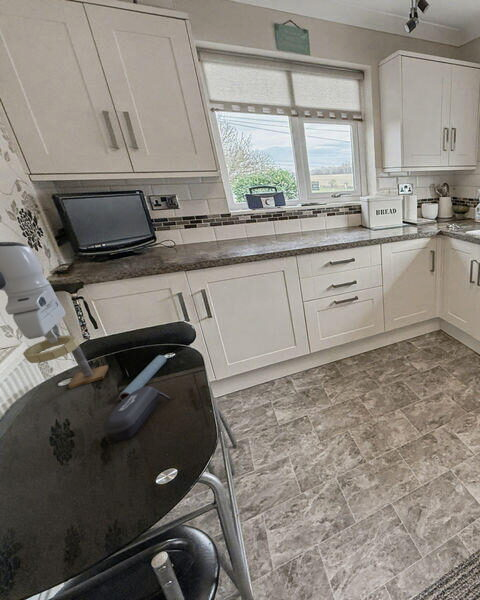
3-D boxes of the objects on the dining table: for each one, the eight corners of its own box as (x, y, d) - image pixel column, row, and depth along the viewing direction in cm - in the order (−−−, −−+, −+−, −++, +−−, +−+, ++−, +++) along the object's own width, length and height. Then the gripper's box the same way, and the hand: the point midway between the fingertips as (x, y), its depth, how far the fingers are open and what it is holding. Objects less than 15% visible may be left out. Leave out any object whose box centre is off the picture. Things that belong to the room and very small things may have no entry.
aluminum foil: (133, 400, 99) (129, 391, 98) (109, 405, 98) (104, 395, 97) (168, 362, 120) (164, 354, 119) (148, 365, 119) (144, 357, 118)
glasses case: (131, 402, 96) (132, 380, 94) (171, 406, 100) (174, 384, 98) (91, 448, 80) (92, 421, 78) (142, 450, 83) (143, 425, 81)
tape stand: (69, 389, 108) (50, 354, 103) (76, 377, 115) (59, 343, 110) (104, 379, 112) (87, 345, 107) (109, 368, 119) (93, 335, 114)
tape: (21, 367, 89) (17, 360, 88) (35, 349, 97) (31, 342, 96) (73, 354, 94) (69, 347, 93) (82, 338, 102) (79, 331, 101)
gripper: (32, 291, 101) (53, 331, 106) (1, 311, 84) (28, 357, 89) (60, 286, 104) (79, 325, 109) (35, 304, 87) (59, 349, 92)
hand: (56, 340), depth 99 cm, fingers closed on tape, 1 cm apart
